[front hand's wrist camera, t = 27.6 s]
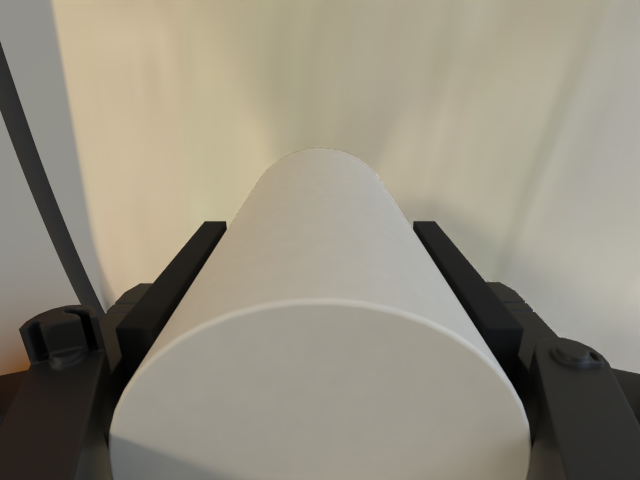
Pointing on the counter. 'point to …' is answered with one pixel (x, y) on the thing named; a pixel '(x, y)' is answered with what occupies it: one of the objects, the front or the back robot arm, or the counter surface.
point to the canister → (319, 351)
